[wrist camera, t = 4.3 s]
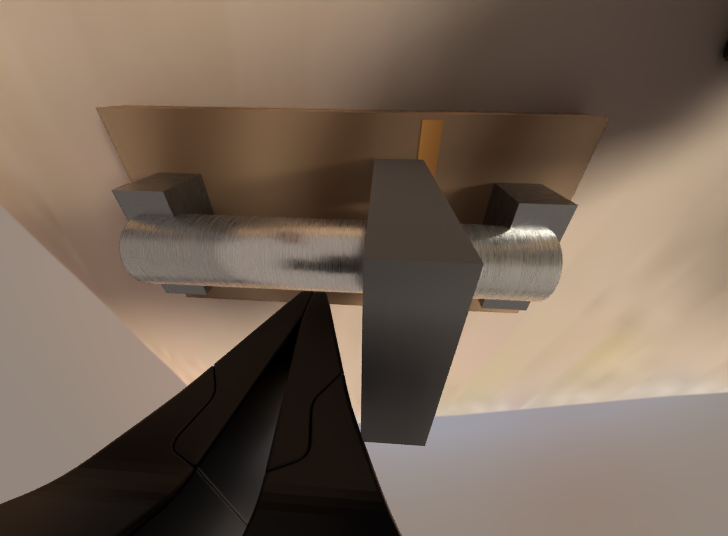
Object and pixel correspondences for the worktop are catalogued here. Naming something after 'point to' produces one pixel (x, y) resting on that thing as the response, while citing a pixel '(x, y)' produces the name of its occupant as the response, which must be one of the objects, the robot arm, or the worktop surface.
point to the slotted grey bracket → (410, 300)
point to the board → (346, 160)
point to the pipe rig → (325, 243)
